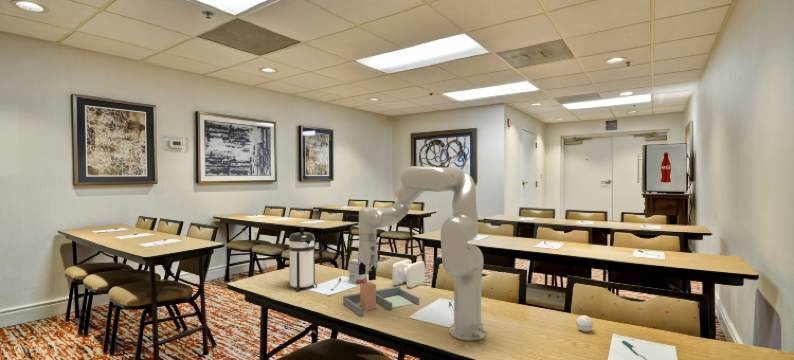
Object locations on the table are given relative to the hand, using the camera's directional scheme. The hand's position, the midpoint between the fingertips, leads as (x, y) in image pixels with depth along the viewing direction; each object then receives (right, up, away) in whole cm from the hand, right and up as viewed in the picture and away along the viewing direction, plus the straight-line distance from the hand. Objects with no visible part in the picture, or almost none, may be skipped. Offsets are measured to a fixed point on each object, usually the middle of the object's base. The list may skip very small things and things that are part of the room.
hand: (367, 277), depth 165 cm
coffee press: (-36, -13, +30) cm, 48 cm away
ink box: (-8, -13, +37) cm, 40 cm away
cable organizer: (+19, -13, +34) cm, 41 cm away
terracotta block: (0, -13, 0) cm, 13 cm away
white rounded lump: (+80, -14, -25) cm, 85 cm away
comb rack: (+6, -13, +3) cm, 15 cm away
